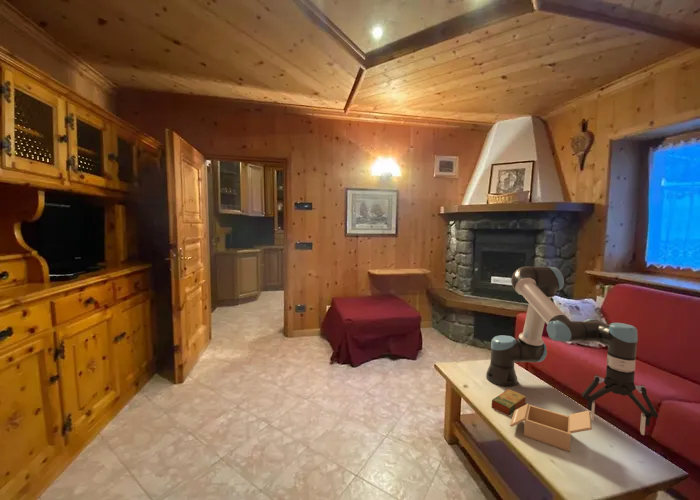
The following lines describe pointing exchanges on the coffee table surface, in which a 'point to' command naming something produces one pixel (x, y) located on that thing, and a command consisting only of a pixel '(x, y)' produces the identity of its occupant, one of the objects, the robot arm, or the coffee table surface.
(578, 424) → the flap
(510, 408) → the carton
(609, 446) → the coffee table surface
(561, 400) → the coffee table surface
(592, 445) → the coffee table surface
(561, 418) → the shipping box
